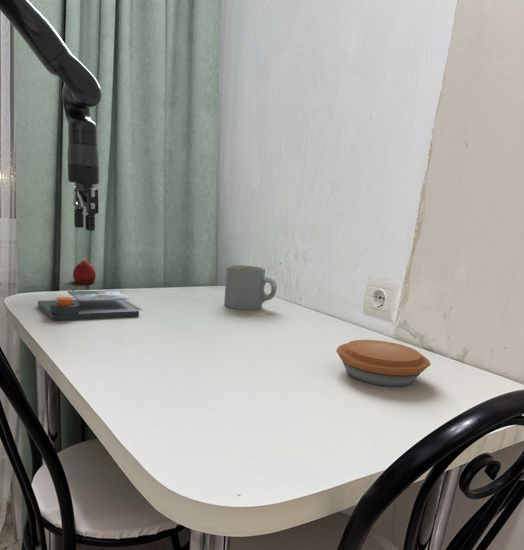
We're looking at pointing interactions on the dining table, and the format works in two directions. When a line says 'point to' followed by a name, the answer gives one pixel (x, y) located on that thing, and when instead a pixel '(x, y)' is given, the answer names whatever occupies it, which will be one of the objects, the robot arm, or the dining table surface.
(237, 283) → the coffee mug
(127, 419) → the dining table surface
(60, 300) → the tare button
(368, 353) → the pie
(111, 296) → the weighing plate
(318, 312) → the dining table surface
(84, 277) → the onion
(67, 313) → the scale
